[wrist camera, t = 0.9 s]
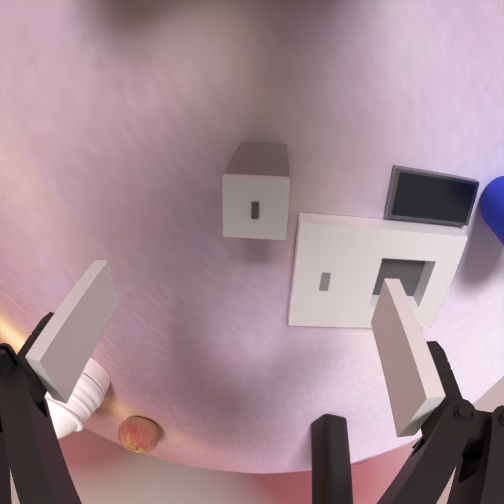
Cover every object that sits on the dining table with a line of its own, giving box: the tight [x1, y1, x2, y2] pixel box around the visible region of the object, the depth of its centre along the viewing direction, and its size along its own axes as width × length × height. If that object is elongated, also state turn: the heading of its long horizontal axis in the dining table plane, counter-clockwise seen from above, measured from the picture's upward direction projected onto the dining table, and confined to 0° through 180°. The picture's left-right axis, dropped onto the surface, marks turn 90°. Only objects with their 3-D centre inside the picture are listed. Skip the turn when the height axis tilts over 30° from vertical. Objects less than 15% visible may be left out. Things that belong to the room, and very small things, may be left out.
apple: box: [118, 417, 159, 453], centre depth 59 cm, size 9×9×8 cm
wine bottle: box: [311, 414, 353, 504], centre depth 44 cm, size 6×6×30 cm
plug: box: [222, 143, 291, 240], centre depth 27 cm, size 5×5×11 cm
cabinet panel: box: [288, 213, 468, 328], centre depth 36 cm, size 14×20×3 cm
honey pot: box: [45, 358, 110, 439], centre depth 47 cm, size 13×13×18 cm
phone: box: [384, 165, 479, 226], centre depth 31 cm, size 6×11×1 cm, turn 89°
